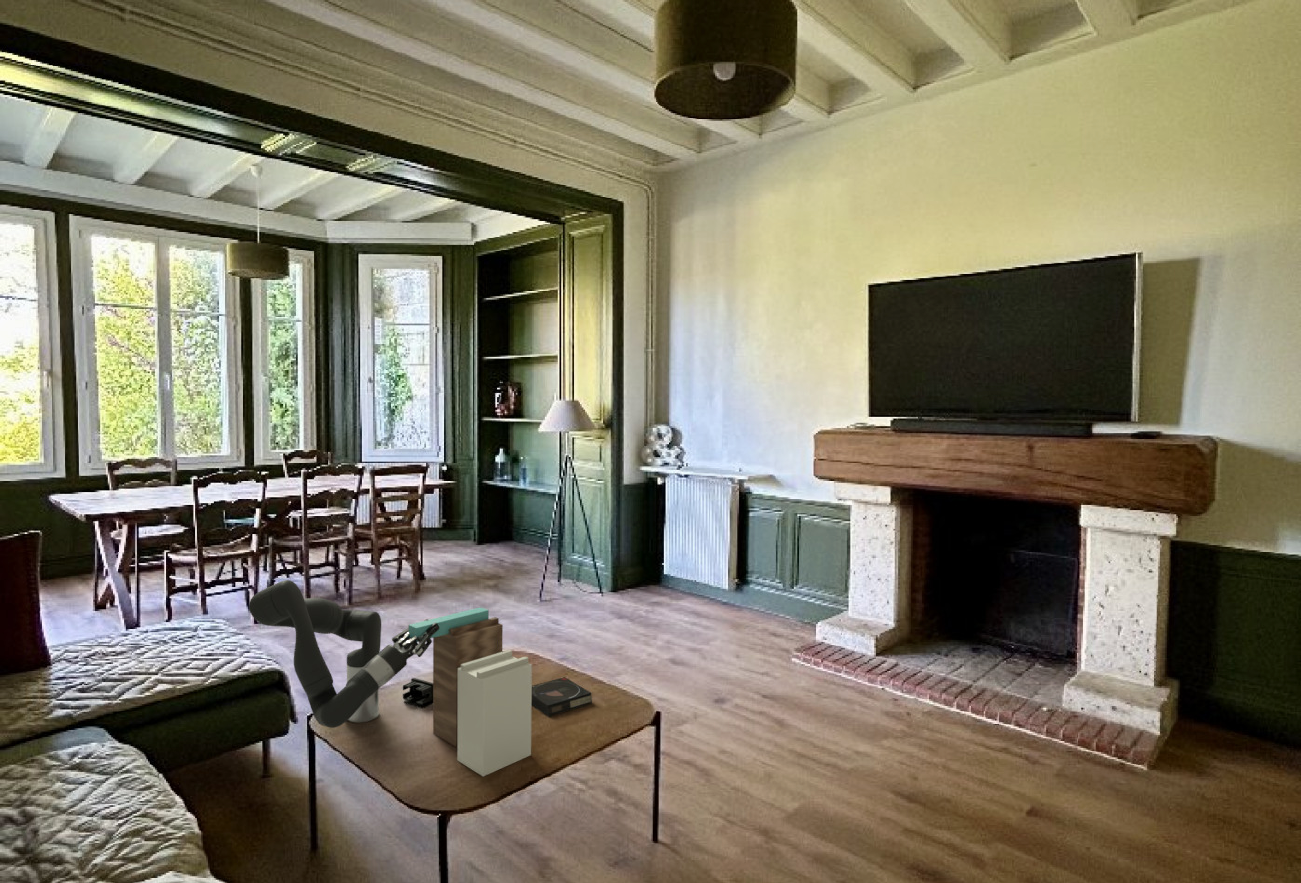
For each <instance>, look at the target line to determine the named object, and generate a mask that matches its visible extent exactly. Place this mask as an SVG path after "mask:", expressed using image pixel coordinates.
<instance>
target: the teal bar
mask: <svg viewBox="0 0 1301 883" xmlns="http://www.w3.org/2000/svg"><path fill="white" fill-rule="evenodd" d="M489 616H490V614H489V609H487V608H485V607H477V608H473V609H467V610H464V611H460V612H456V613H452V614H448V615H443V616H439V617H436V618H431V619H428V620H427V621H424V620H423V621H419V622H415V623H414V622H413V623H411V624H408V628H409V635H410V636H409V637H411V638H413V637H415V636H420V635H421V634H422V633H423V632H425V631H426V630H427V629H428V628H429V627H430V626H431V625H432V624H433V623H437V624H438V625H439V627H440V628H439V630H438V631H437V632H435V633H434V634H433V635H432V636H431V637H430V639H433V638H434V637H438V636H442V635H446V634H449V629H452V628H456V627H460V626H463V625H467V624H471V623H475V622H479V621H483V620H487V619H490V618H489ZM422 639H423V637H422V638H421V640H422ZM416 642H417V643H419V642H418V640H416Z"/></svg>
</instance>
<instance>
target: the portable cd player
mask: <svg viewBox="0 0 1301 883" xmlns="http://www.w3.org/2000/svg"><path fill="white" fill-rule="evenodd" d="M592 698H593V697H592V692H591V691H590V690H587V689H585V688H584V687H582V686H580V685H579V684H577V683H575V682H574V681H572V680H570V679H569V678H567V677H566V676H564V677H560V678H556V679H552V680H549V681H544V682H542V683H537V684H534V685H533V684H532V699H531V707H534V708H535V709H537V710H538V711H539V712H541V713H542V714H544V715H545V716H546V717H552V716H555V715H558V714H561V713H565V712H568V711H571V710H574V709H578V708H581V707H584V706H588V705H591V704H593V699H592Z"/></svg>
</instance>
